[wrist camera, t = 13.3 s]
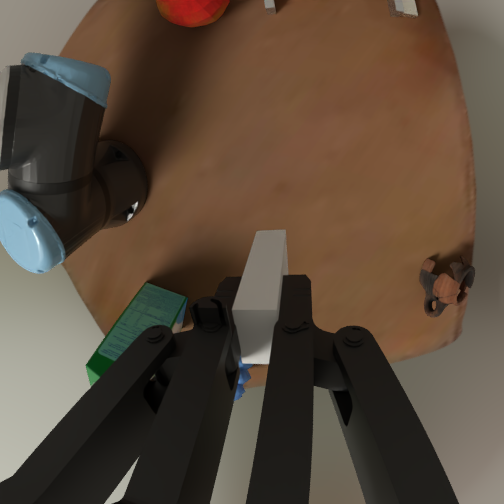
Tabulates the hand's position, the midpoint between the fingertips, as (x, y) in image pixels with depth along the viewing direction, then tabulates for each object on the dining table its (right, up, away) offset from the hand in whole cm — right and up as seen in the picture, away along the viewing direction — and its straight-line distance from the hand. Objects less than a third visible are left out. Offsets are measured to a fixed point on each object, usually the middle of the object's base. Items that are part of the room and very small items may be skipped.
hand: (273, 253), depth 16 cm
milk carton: (-19, -11, +41) cm, 47 cm away
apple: (-8, +35, +15) cm, 39 cm away
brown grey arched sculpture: (+33, -4, +30) cm, 44 cm away
